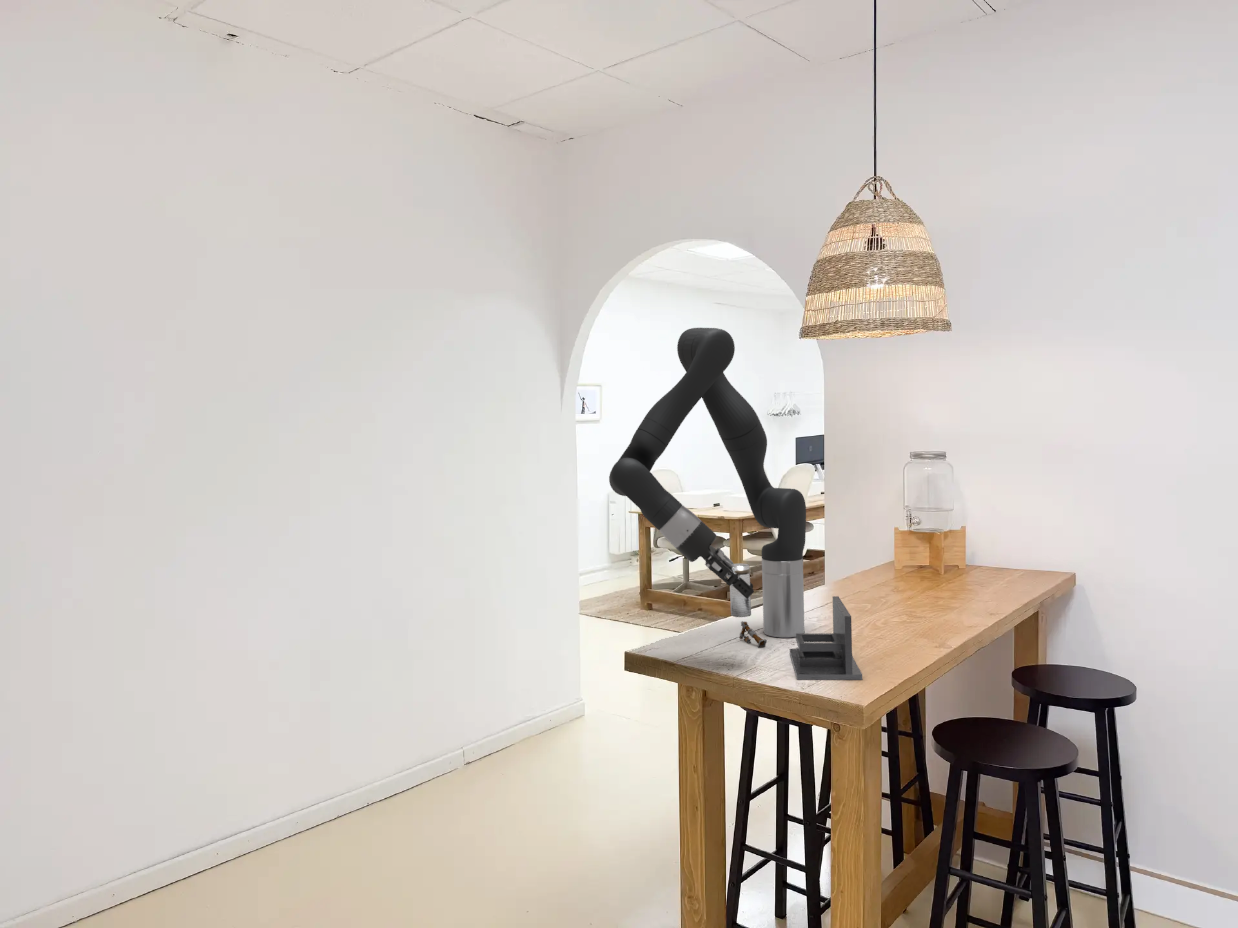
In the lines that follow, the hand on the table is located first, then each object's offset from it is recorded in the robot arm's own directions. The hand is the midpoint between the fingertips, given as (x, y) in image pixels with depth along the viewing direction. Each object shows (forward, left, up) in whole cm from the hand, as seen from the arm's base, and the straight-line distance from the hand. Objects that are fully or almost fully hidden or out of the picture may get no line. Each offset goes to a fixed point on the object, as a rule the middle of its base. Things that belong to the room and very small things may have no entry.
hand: (750, 591), depth 171 cm
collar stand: (0, +14, -15) cm, 20 cm away
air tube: (0, -2, -5) cm, 5 cm away
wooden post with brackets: (-17, 0, -15) cm, 22 cm away
